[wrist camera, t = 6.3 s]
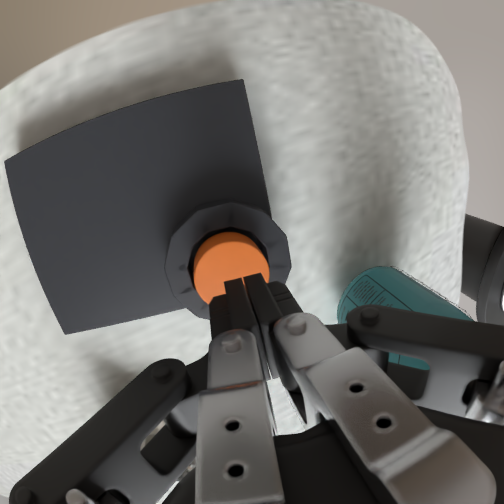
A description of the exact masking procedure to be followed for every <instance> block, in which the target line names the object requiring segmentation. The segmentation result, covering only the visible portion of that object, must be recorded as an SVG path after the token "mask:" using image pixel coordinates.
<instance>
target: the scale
mask: <svg viewBox="0 0 504 504" xmlns="http://www.w3.org/2000/svg"><path fill="white" fill-rule="evenodd" d="M4 163H5V169H6V174H7V178H8V183H9V187H10V192H11V196H12V200H13V204H14V207H15V211H16V215H17V218H18V222H19V225H20V228H21V231H22V234H23V238H24V241H25V244H26V246H27V249H28V252H29V255H30V258H31V260H32V263H33V266H34V268H35V271H36V273H37V276H38V278H39V281H40V283H41V285H42V288H43V290H44V292H45V295H46V297H47V299H48V301H49V303H50V306H51V308H52V310H53V312H54V314H55V316H56V318H57V320H58V322H59V324H60V326H61V328H62V330H63V332H64V334H65V335H66V334H72V333H76V332H81V331H86V330H91V329H96V328H101V327H105V326H110V325H114V324H119V323H124V322H128V321H132V320H137V319H141V318H146V317H150V316H154V315H159V314H163V313H167V312H171V311H175V310H179V309H184V308H187V309H188V310H190V311H191V312H192V313H193V314H194V315H196V316H198V317H199V318H204V319H209V320H210V314H209V313H210V312H209V304H207V303H206V302H205V301H204V300H203V299H202V298H201V297H200V295H199V294H198V292H197V290H196V287H195V284H194V259H195V256H196V253H197V251H198V249H199V247H200V246H201V245H202V244H203V243H204V242H205V241H206V240H207V239H208V238H210V237H211V236H214V235H216V234H219V233H223V232H236V233H240V234H243V235H245V236H247V237H249V238H250V239H251V240H252V241H253V242H254V243H255V244H256V245H257V246H258V248H259V249H260V251H261V252H262V254H263V255H264V257H265V258H266V260H267V263H268V266H269V272H270V273H269V282H268V283H270V282H273V281H279V282H281V283H283V284H285V283H286V280H287V278H288V275H289V272H290V270H291V259H290V253H289V247H288V241H287V237H286V235H285V233H284V232H283V231H282V230H281V229H280V228H279V227H278V226H277V224H276V223H275V222H274V221H273V220H272V216H271V211H270V205H269V200H268V195H267V190H266V185H265V180H264V175H263V170H262V165H261V160H260V155H259V150H258V146H257V141H256V136H255V131H254V127H253V122H252V117H251V113H250V108H249V103H248V99H247V94H246V90H245V85H244V81H243V79H240V80H234V81H228V82H222V83H217V84H212V85H207V86H202V87H197V88H193V89H188V90H184V91H180V92H176V93H172V94H168V95H164V96H161V97H157V98H153V99H150V100H147V101H143V102H140V103H137V104H134V105H130V106H127V107H124V108H121V109H118V110H115V111H113V112H110V113H107V114H104V115H102V116H99V117H96V118H94V119H91V120H88V121H86V122H83V123H81V124H79V125H76V126H74V127H71V128H69V129H67V130H65V131H62V132H60V133H58V134H56V135H54V136H51V137H49V138H47V139H45V140H43V141H41V142H39V143H37V144H35V145H33V146H31V147H29V148H27V149H25V150H23V151H22V152H20V153H18V154H16V155H14V156H12V157H11V158H9V159H7V160H5V161H4Z"/></svg>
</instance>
